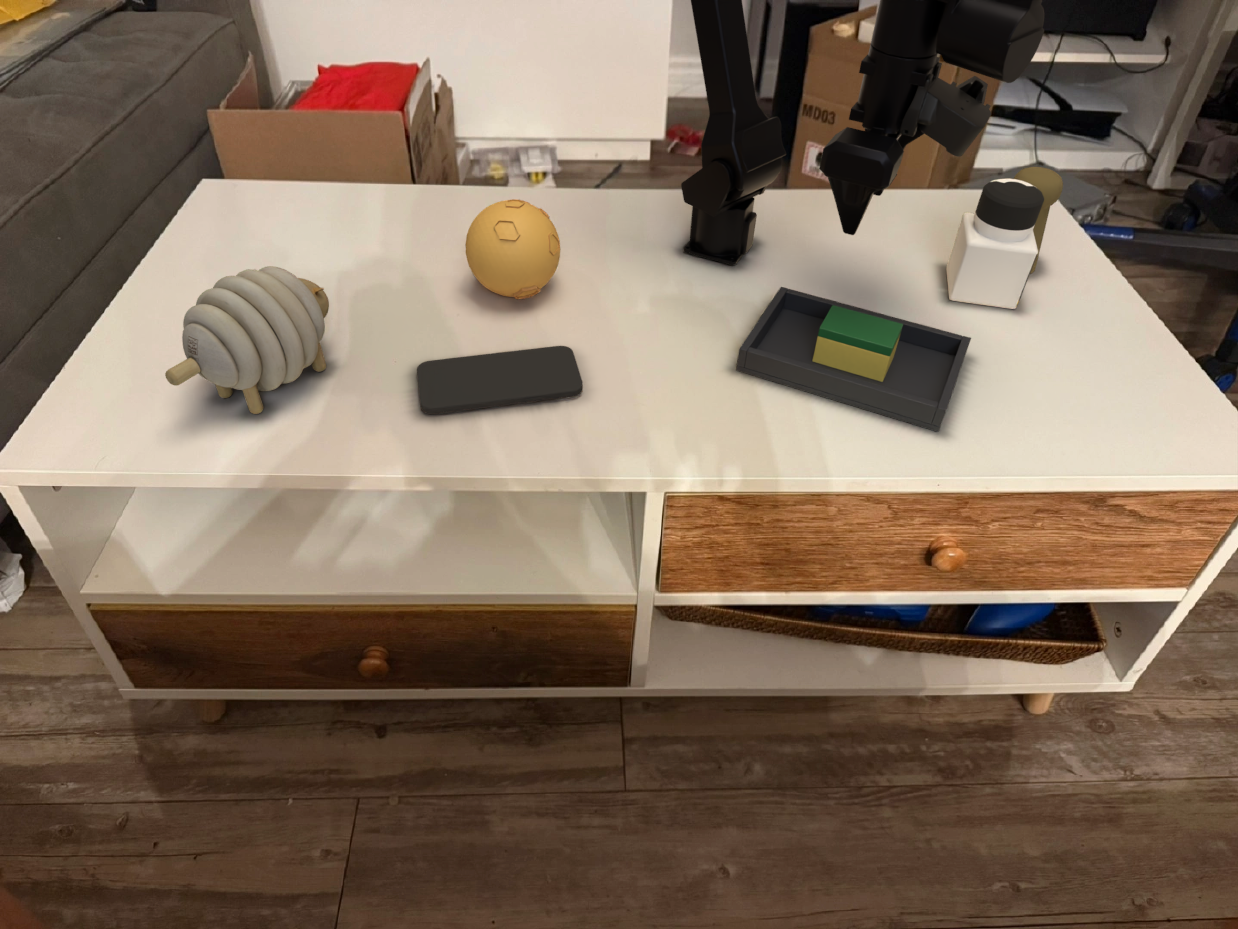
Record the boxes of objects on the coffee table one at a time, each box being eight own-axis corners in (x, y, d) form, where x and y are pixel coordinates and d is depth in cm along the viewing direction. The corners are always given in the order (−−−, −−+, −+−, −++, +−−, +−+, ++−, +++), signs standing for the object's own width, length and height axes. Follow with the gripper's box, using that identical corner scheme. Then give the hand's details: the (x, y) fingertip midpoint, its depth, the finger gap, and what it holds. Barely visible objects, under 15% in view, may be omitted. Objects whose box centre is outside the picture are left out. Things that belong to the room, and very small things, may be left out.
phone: (415, 361, 85) (570, 343, 87) (417, 368, 85) (570, 350, 88) (420, 410, 79) (585, 389, 82) (421, 417, 80) (585, 396, 83)
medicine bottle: (1016, 310, 96) (1057, 207, 87) (948, 301, 97) (982, 198, 88) (1009, 276, 101) (1047, 176, 92) (945, 268, 102) (977, 167, 93)
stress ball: (474, 319, 92) (465, 231, 85) (466, 270, 99) (457, 185, 92) (569, 310, 93) (567, 223, 86) (554, 262, 100) (552, 178, 93)
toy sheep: (372, 356, 87) (352, 254, 79) (242, 457, 76) (204, 351, 68) (290, 324, 90) (263, 224, 82) (155, 417, 79) (109, 312, 71)
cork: (1013, 245, 106) (1046, 156, 98) (1047, 271, 102) (1084, 180, 94) (971, 253, 104) (1001, 163, 97) (1003, 279, 100) (1037, 187, 93)
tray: (735, 370, 86) (739, 348, 85) (777, 307, 95) (781, 286, 93) (938, 432, 80) (946, 410, 79) (963, 359, 89) (971, 337, 87)
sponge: (811, 361, 87) (819, 327, 84) (824, 338, 90) (832, 304, 87) (882, 382, 85) (892, 348, 82) (893, 357, 88) (903, 323, 85)
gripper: (977, 103, 68) (921, 280, 79) (1018, 34, 80) (965, 195, 91) (836, 73, 71) (801, 246, 82) (897, 11, 83) (859, 169, 94)
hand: (862, 213), depth 87 cm, fingers open, 9 cm apart
